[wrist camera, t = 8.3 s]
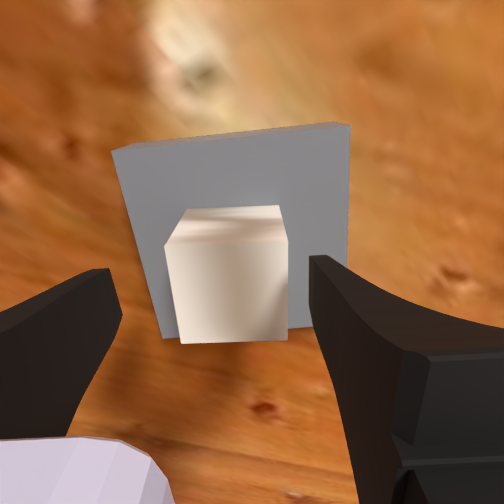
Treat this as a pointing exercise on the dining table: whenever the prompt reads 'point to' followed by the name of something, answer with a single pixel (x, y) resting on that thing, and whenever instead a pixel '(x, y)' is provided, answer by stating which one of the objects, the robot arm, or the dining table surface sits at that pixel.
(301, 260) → the gray panel
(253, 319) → the cream block
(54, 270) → the dining table surface
